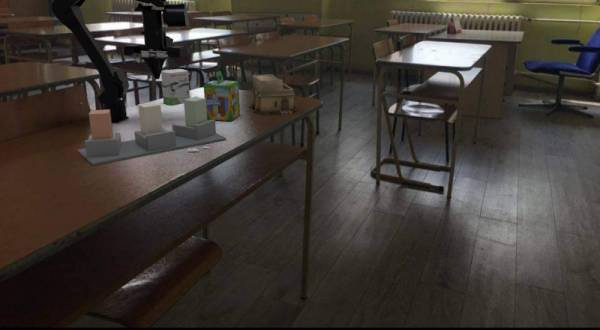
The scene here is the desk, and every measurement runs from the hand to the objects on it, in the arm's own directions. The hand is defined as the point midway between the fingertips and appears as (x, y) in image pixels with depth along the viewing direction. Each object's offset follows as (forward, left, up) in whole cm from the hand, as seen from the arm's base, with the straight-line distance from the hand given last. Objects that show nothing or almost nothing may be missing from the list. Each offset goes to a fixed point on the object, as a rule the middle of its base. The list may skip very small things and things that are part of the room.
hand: (157, 79), depth 155 cm
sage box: (+19, -15, -13) cm, 27 cm away
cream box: (+10, -24, -13) cm, 29 cm away
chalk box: (+18, +8, -13) cm, 24 cm away
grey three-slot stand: (+10, -24, -13) cm, 29 cm away
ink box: (-6, +24, -13) cm, 28 cm away
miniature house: (+31, +22, -13) cm, 40 cm away
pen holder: (+12, +24, -13) cm, 30 cm away
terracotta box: (+2, -34, -13) cm, 37 cm away
